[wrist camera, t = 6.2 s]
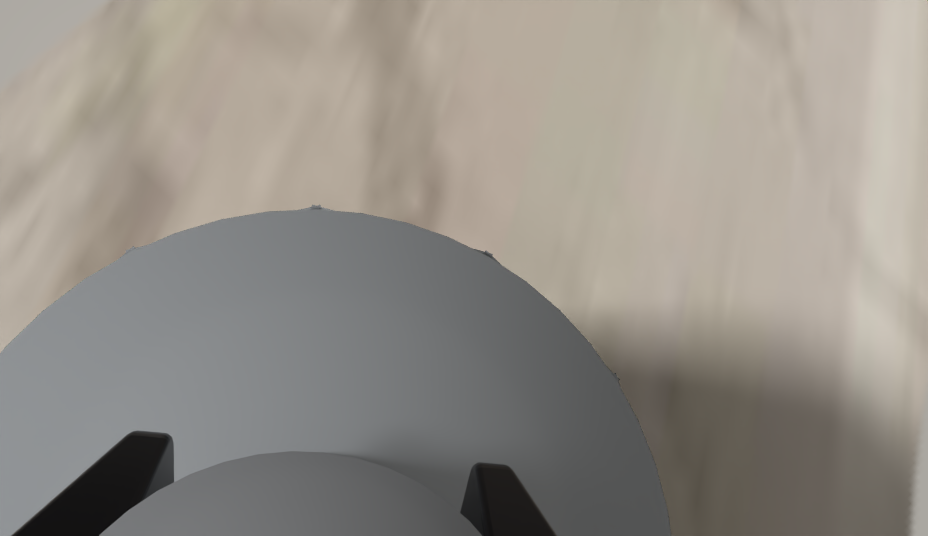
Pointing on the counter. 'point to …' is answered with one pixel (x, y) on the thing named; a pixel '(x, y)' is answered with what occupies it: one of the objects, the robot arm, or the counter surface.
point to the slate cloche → (321, 387)
